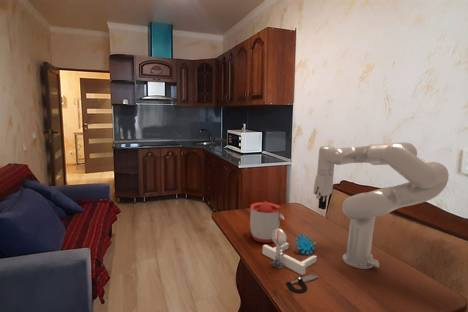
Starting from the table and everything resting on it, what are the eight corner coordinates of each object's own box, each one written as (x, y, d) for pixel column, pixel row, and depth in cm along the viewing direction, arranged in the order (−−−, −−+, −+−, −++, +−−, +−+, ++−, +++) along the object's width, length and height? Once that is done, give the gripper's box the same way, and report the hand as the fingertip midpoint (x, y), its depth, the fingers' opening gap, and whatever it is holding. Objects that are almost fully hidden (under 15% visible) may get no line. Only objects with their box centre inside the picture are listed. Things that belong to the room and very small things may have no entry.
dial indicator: (290, 265, 122) (292, 229, 119) (281, 270, 118) (283, 232, 115) (277, 259, 127) (280, 224, 124) (268, 263, 123) (270, 227, 120)
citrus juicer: (281, 247, 138) (284, 208, 135) (246, 243, 141) (248, 204, 138) (283, 234, 153) (285, 198, 150) (251, 230, 156) (252, 195, 153)
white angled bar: (321, 264, 124) (322, 255, 123) (302, 275, 115) (302, 265, 114) (281, 245, 140) (282, 237, 140) (262, 253, 131) (262, 245, 131)
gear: (299, 253, 129) (294, 232, 135) (292, 258, 133) (288, 237, 139) (319, 254, 132) (314, 233, 138) (312, 258, 137) (307, 238, 143)
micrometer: (295, 296, 102) (295, 289, 102) (283, 285, 109) (284, 279, 108) (327, 287, 108) (328, 281, 108) (315, 277, 115) (315, 271, 114)
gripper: (326, 168, 144) (323, 203, 147) (309, 172, 134) (306, 209, 137) (340, 171, 139) (337, 207, 141) (323, 175, 129) (320, 213, 132)
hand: (322, 208), depth 139 cm, fingers closed
